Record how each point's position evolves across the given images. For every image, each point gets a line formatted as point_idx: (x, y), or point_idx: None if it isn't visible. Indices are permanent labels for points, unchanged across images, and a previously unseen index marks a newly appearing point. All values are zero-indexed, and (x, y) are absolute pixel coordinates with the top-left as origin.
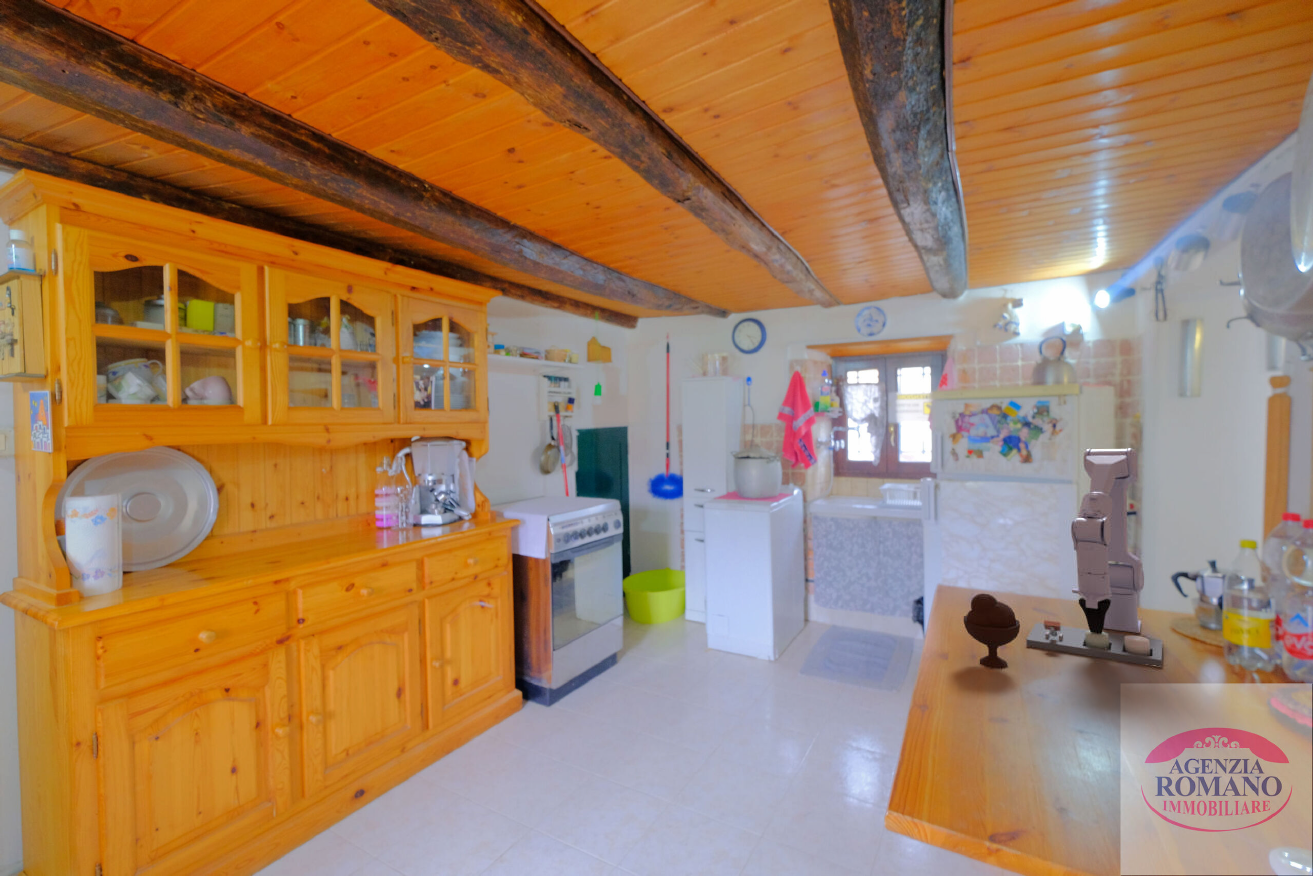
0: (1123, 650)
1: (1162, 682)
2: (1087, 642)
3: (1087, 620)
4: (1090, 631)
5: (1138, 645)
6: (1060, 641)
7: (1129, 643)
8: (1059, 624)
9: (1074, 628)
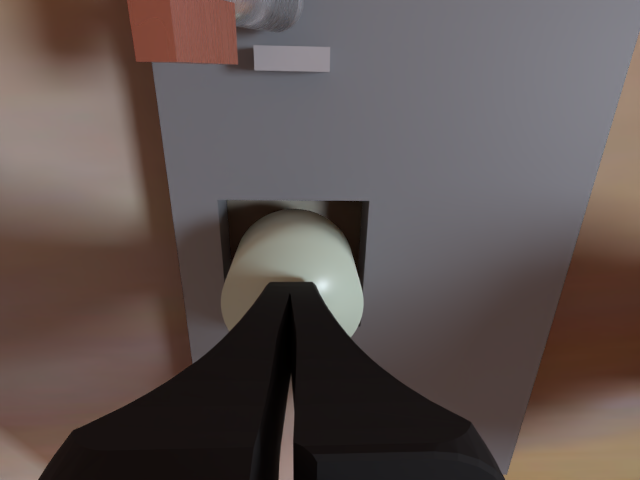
0: None
1: (40, 456)
2: (251, 231)
3: (234, 327)
4: (267, 284)
5: None
6: None
7: None
8: (154, 58)
9: (594, 125)
